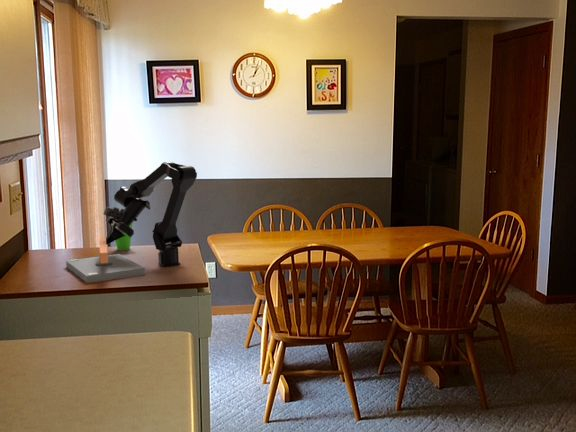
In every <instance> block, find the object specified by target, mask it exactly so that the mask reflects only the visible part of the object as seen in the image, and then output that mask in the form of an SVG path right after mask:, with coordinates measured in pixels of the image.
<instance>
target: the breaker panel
mask: <svg viewBox="0 0 576 432" xmlns="http://www.w3.org/2000/svg"><path fill="white" fill-rule="evenodd" d="M65 263H66V264H65V266H66V268H67V269H68V270H70V271H71V272H72V273H73V274H75V275H76V276H77V277H79V278H80V279H82V280H83V281H84V282H85V283H86V284H92V283H97V282H105V281H110V280H116V279H124V278H125V279H126V278H130V277H137V276H144V275H146V271H145V270H146V269H145V267H144V266H143V265H140V264H138V263H137V262H135V261H133V260H131V259H129V258H127V257H126V256H124V255H123V254H120V253H116V254H109V255H108V263H107V264H100V255H99V256H93V257H92V256H91V257H86V258H75V259H69V260H65Z"/></svg>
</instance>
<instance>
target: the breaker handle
mask: <svg viewBox="0 0 576 432" xmlns="http://www.w3.org/2000/svg"><path fill="white" fill-rule="evenodd" d="M106 237H107V236H102V237H101V236H99V237H98V238H99V240H98V243H99V256H100V264H107V263H108V244H106Z"/></svg>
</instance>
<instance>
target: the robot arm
mask: <svg viewBox="0 0 576 432" xmlns="http://www.w3.org/2000/svg"><path fill="white" fill-rule="evenodd" d="M197 176H198V172H197V170H196V169H195V167H194V166H193V165H185V164H180V163H176V162H174V161H164V162H162V163H161V164H160V165H159V166H158V167H157V168H155V170H153V171H152V172H151V173H150V174H148V175H147V176H146V177H145V178H144V179H141V180H138V181H134V183H133V182H132V183H131V184H130V186H129V188H127V187H126V186H120V188H119V189H118V190H117V191H116V192H115V194H114V196H113V200H114V201H115V202H116V203H118V204H119V205H120V206H122V207H124V208H121V209H120V208H118V207H115V206H113V207H112V208H111V207H109V206H105V208H104V211H103V215H105V216H106V217H107V218H106V219H105V222H107V223H108V227H109V231H108V233H107V235H106V236H105V237H106V244H107V245H109V244H111V243H113V242H116V241H115V240H117V239H119V238H121V237H124V236H125V235H124V234H125V233H126V234H127V235H128V236H129V237H131V238H132V237H133V235H135V230H134V229H133V227H132V228H130V225H131V224H132V223H133V224H134V222H137V221H138V217H139V216H140V215H141V214H142V212H143V211H144V210H145V209H147V210H149V211H150V210H151V202H150V201H148V200H144V199H143V198H149V196H151V195H152V194H153V192H154V191H155V190H154V189H155V187H156V186H158V184H160V183H161V182H163V181H164V180H165V179H166V178H170V179H171V184H172V191H171V194H170V197H169V199H168V203H167V206H166V209H165V213H164V215H163V218H162V221H159V222H155V223H154V228H153V230H152V239H153V243H154V246H155V249H156V250H157V251H158V264H159V265H161V266H163V267H166V268H167V267H171V266H178V265H181V264H182V263H181V262H179V259H180V258H179V256H180V255H179V248H181V247H182V245H183V241H182V240H181V238H180V237H179V235H178V234H177V233H178V228H177V226H176V223H177V221H178V218H179V216H180V212H181V209H182V206H183V204H184V200H185V196H186V194H187V192H188V190H189V189H190V188H191V187H193V185H194V183H195V182H196V180H197V178H198V177H197ZM133 224H132V225H133Z"/></svg>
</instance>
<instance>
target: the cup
mask: <svg viewBox="0 0 576 432" xmlns="http://www.w3.org/2000/svg"><path fill="white" fill-rule="evenodd" d="M133 224H134V222H133V223H132V224H131V225H130V228H132V229H133ZM124 235H125V236H124V237H121V238H119V239H117V240H115V241H114V242H115V245H116V249H117V250H118V251H128V250H130V248H131V240H132V237H129V236H128V235H127V234H126V233H125V234H124Z"/></svg>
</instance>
